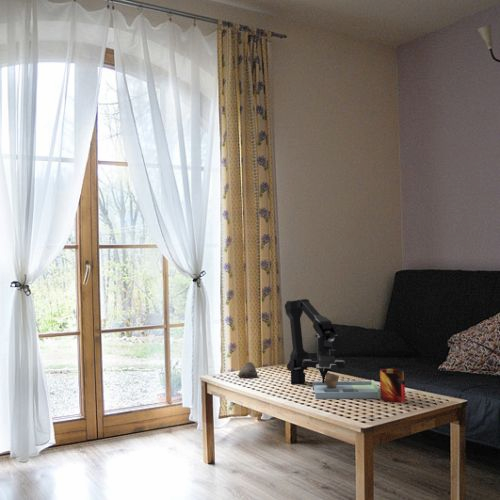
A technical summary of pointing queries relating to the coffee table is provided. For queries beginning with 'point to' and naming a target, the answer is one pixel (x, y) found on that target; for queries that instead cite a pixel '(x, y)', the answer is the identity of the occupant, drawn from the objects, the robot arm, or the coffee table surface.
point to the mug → (392, 385)
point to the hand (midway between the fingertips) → (323, 383)
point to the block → (331, 380)
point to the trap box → (347, 390)
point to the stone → (248, 370)
